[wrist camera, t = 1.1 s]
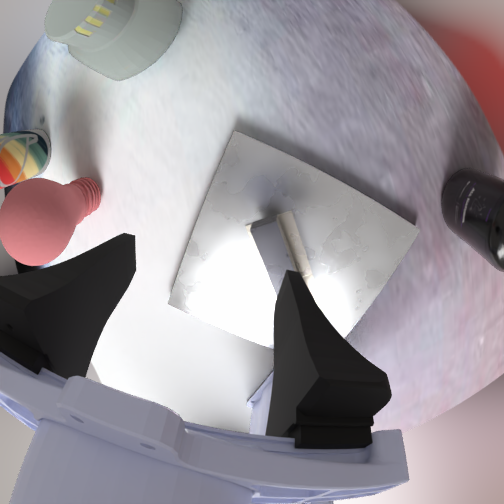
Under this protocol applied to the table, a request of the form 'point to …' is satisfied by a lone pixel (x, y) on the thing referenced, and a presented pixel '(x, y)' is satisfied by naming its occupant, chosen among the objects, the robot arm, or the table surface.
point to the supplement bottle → (477, 212)
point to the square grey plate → (298, 238)
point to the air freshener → (114, 32)
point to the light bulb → (44, 217)
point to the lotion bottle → (23, 155)
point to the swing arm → (273, 249)
